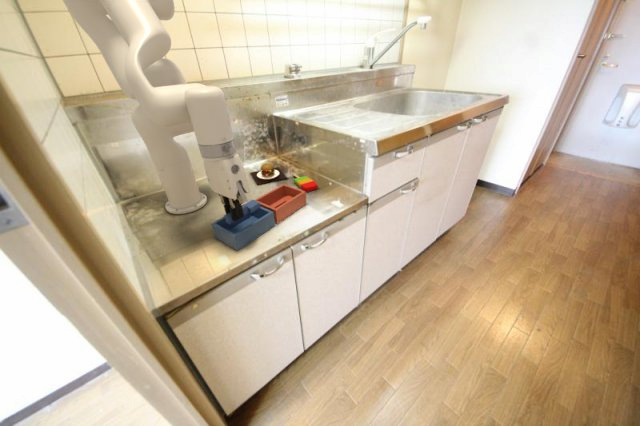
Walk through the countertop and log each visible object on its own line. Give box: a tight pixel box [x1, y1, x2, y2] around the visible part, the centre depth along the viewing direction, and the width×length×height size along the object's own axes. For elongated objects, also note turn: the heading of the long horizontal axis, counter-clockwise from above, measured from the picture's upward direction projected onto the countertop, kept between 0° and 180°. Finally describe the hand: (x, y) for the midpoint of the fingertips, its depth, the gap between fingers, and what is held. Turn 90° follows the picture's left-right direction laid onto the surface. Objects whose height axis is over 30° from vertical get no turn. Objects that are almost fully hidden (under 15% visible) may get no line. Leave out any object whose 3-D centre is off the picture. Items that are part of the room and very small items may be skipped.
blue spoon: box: [223, 199, 261, 224], centre depth 68 cm, size 10×3×2 cm, turn 144°
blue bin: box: [210, 207, 276, 252], centre depth 71 cm, size 10×14×5 cm
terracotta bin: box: [254, 183, 307, 225], centre depth 80 cm, size 10×14×5 cm
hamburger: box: [249, 162, 289, 187], centre depth 101 cm, size 12×12×6 cm
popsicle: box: [292, 173, 319, 193], centre depth 96 cm, size 6×15×2 cm, turn 31°
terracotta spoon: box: [271, 196, 293, 208], centre depth 81 cm, size 10×3×2 cm, turn 144°
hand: (235, 216), depth 66 cm, fingers closed on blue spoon, 1 cm apart
